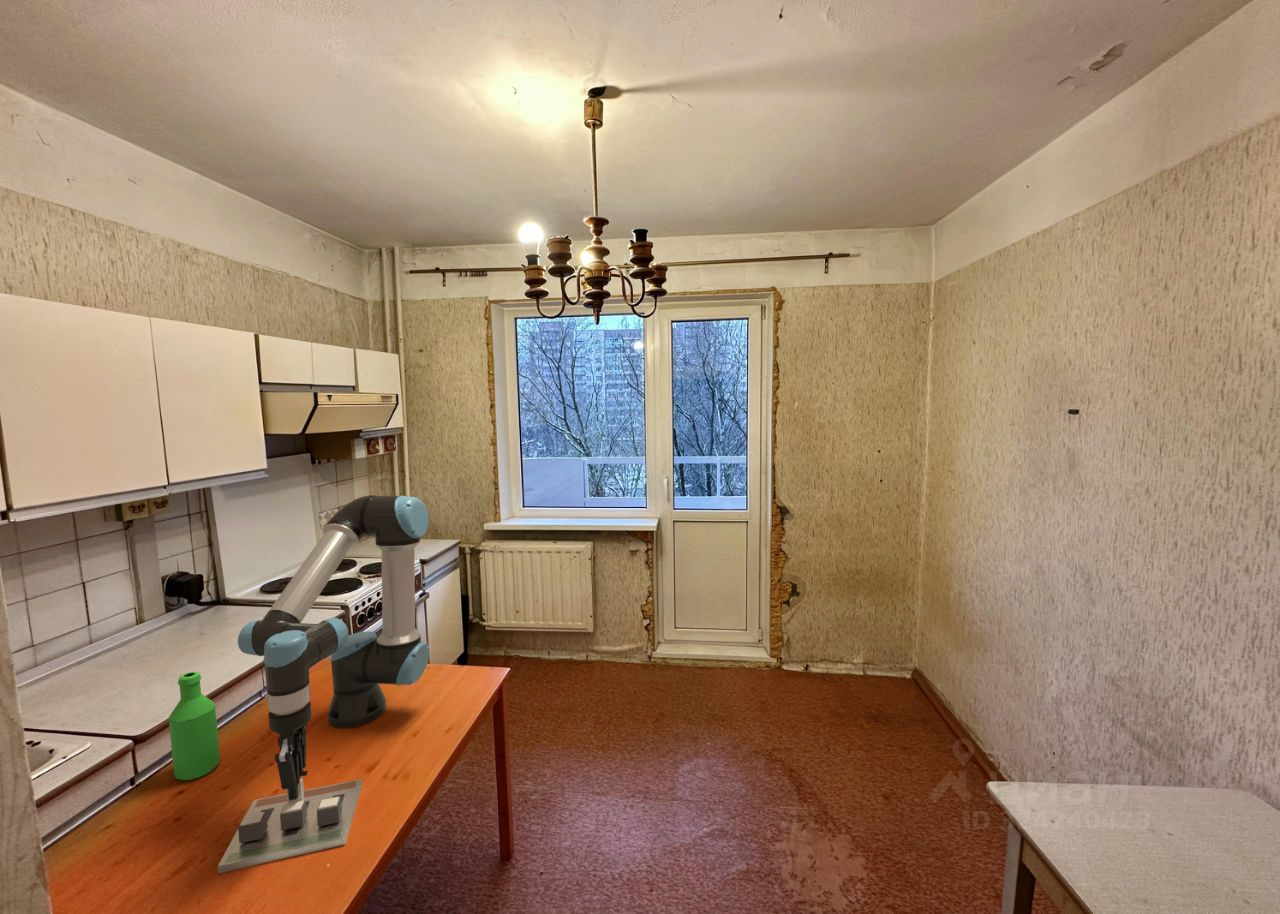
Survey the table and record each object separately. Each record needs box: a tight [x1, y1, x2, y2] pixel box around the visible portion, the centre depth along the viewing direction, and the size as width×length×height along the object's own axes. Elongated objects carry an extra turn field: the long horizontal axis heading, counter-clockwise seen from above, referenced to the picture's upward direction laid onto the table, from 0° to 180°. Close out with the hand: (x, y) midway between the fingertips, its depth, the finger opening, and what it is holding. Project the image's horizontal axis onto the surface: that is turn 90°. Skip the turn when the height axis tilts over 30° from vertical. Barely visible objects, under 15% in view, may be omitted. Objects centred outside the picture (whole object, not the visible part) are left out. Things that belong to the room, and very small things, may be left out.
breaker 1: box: [237, 812, 268, 843], centre depth 109 cm, size 3×4×4 cm
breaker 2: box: [280, 800, 307, 831], centre depth 112 cm, size 3×4×4 cm
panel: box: [217, 778, 363, 874], centre depth 114 cm, size 18×22×2 cm
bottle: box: [168, 671, 221, 781], centre depth 130 cm, size 9×9×25 cm
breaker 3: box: [317, 797, 342, 826], centre depth 113 cm, size 3×4×4 cm
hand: (296, 809), depth 114 cm, fingers closed
